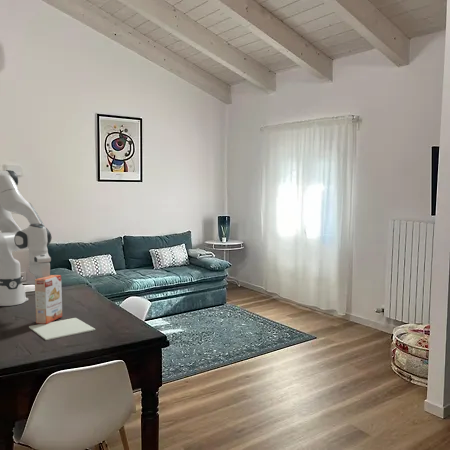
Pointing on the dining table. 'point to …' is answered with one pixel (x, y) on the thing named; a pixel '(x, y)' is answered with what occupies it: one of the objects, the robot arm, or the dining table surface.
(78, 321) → the mat
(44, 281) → the cracker box
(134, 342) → the dining table surface
